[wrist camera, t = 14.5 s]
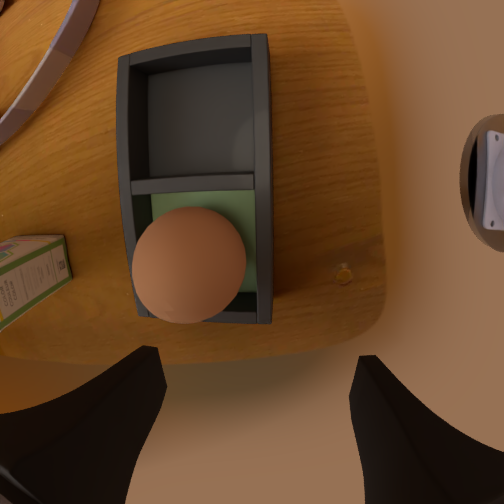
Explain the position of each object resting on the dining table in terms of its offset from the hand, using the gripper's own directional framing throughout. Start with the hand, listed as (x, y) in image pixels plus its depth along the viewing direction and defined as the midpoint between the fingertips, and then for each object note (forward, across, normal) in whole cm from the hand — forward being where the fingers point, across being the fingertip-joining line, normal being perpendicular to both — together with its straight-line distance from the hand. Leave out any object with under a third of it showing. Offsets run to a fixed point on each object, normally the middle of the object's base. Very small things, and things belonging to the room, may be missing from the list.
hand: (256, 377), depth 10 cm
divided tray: (+9, +4, -6) cm, 12 cm away
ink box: (+9, +19, -1) cm, 21 cm away
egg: (+9, +4, -2) cm, 10 cm away
